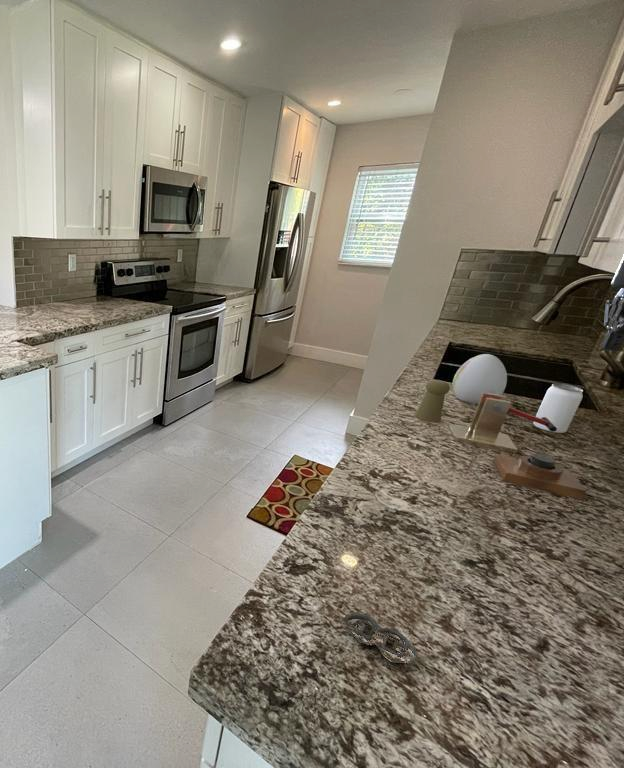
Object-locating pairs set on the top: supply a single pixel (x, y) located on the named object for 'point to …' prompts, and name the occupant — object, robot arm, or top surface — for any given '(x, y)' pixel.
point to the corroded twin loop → (381, 630)
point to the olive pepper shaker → (433, 401)
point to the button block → (538, 476)
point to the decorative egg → (479, 378)
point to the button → (542, 461)
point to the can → (559, 406)
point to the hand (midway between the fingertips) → (609, 349)
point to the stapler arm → (532, 418)
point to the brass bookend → (486, 425)
